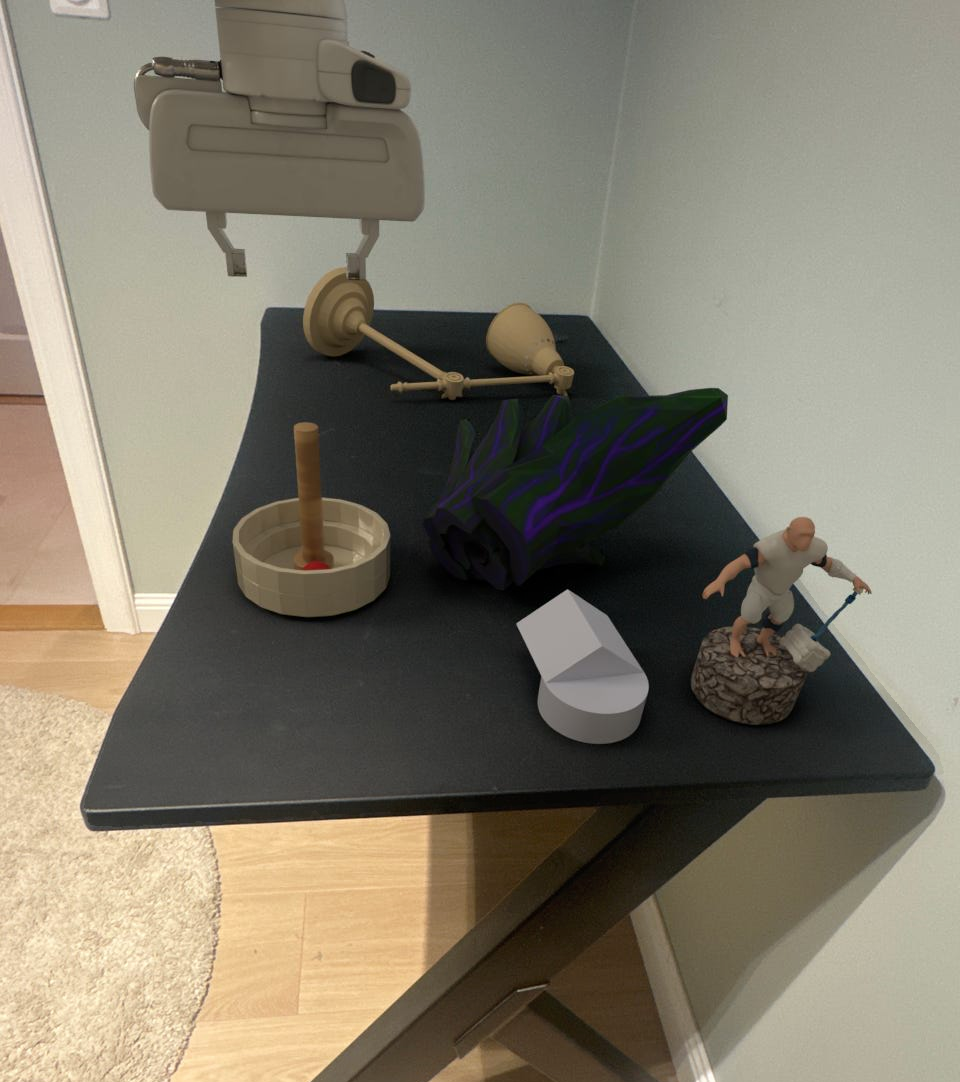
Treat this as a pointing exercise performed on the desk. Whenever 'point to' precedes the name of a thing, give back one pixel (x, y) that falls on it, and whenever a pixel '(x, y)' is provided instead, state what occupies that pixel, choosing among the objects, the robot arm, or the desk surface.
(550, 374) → the desk lamp
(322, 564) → the berry
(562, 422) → the decorative plant
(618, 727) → the wedge on round base
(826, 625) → the figurine
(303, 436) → the wooden pestle
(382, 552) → the bowl
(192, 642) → the desk surface
